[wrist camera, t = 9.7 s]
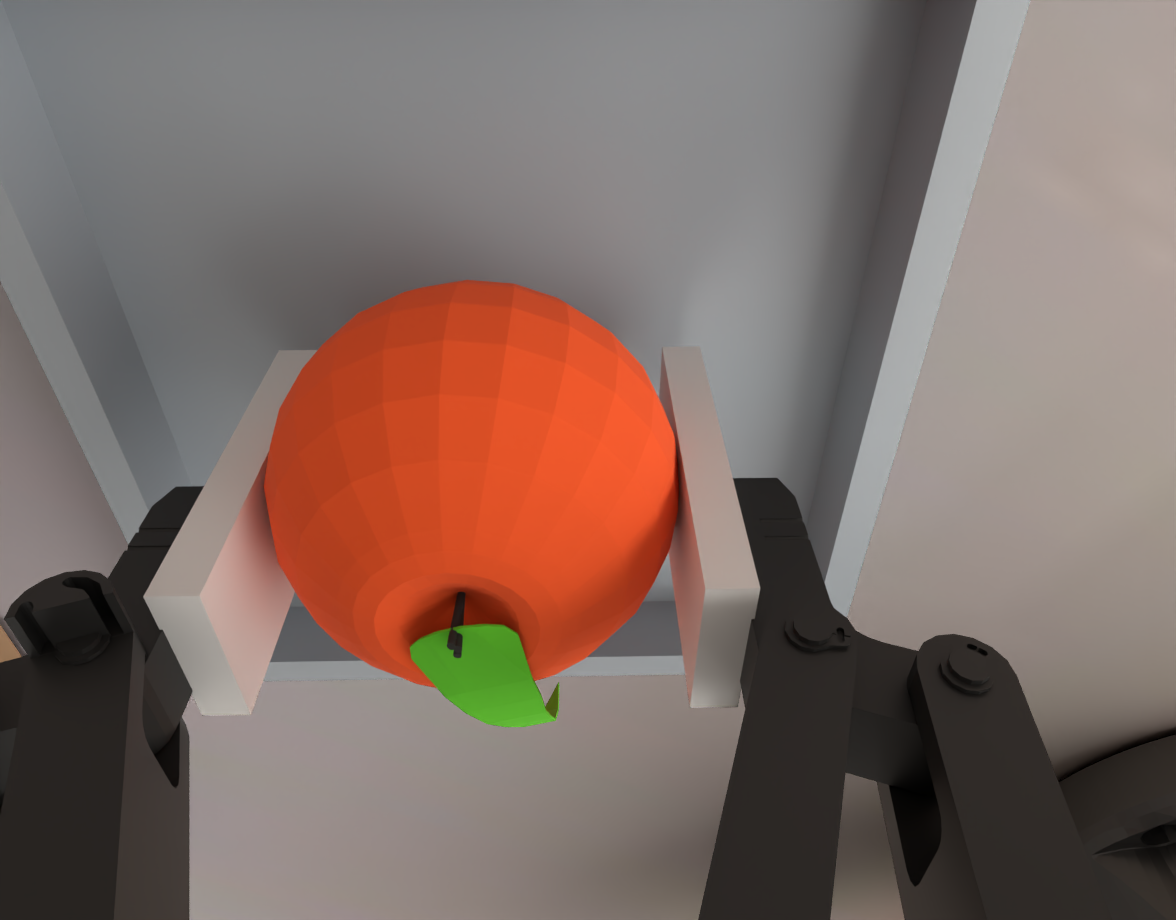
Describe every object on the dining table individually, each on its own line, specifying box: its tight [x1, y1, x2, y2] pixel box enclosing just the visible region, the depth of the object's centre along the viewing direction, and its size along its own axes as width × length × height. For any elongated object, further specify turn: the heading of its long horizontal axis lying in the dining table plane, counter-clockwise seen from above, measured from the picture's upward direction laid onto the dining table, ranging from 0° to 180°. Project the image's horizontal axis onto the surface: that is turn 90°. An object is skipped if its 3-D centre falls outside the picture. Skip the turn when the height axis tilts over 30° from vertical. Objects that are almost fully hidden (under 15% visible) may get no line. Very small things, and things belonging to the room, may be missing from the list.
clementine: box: [264, 280, 679, 727], centre depth 14 cm, size 8×7×7 cm
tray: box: [0, 0, 1030, 681], centre depth 17 cm, size 17×17×2 cm
